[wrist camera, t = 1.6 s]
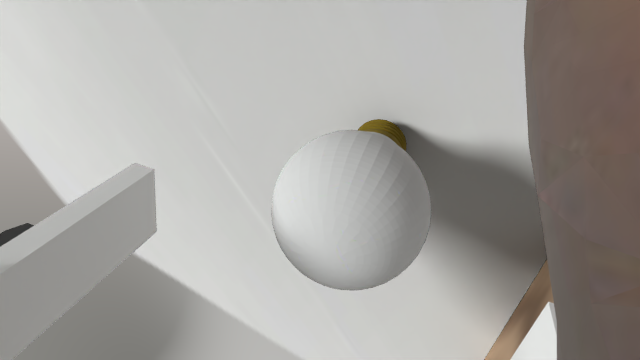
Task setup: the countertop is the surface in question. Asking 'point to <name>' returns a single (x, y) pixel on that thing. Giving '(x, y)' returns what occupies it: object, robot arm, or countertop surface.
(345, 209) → the light bulb
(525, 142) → the countertop surface
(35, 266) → the robot arm
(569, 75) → the mortar and pestle
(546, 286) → the tray
